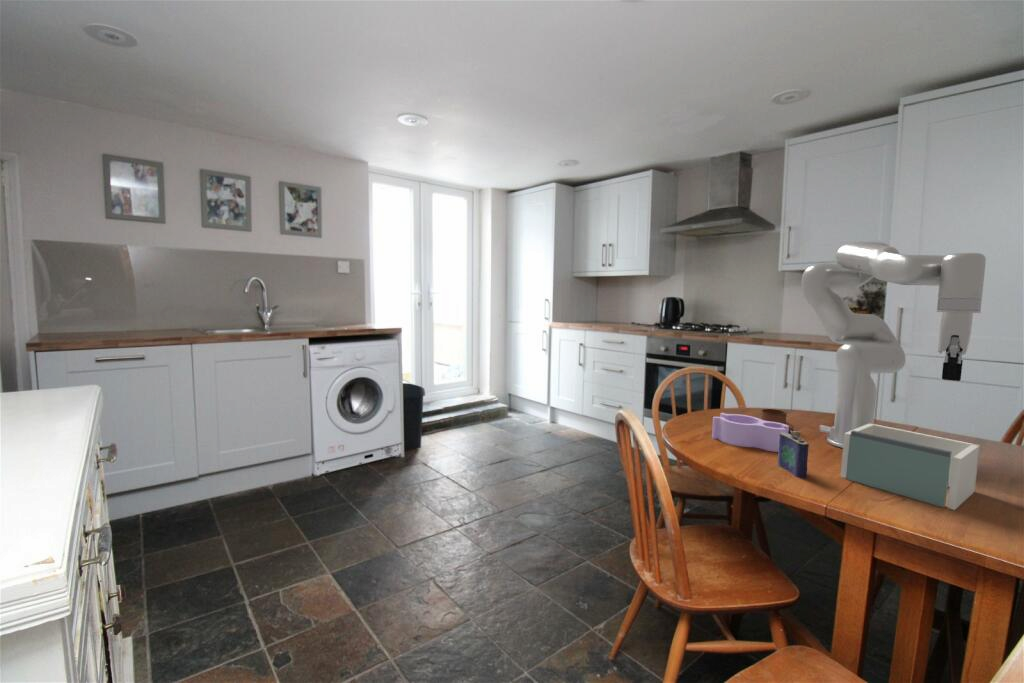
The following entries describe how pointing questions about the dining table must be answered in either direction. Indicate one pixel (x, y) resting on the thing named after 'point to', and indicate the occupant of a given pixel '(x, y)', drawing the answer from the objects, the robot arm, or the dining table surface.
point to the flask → (793, 454)
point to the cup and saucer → (775, 417)
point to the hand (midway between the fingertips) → (951, 377)
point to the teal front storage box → (962, 452)
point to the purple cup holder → (748, 431)
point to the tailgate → (899, 467)
